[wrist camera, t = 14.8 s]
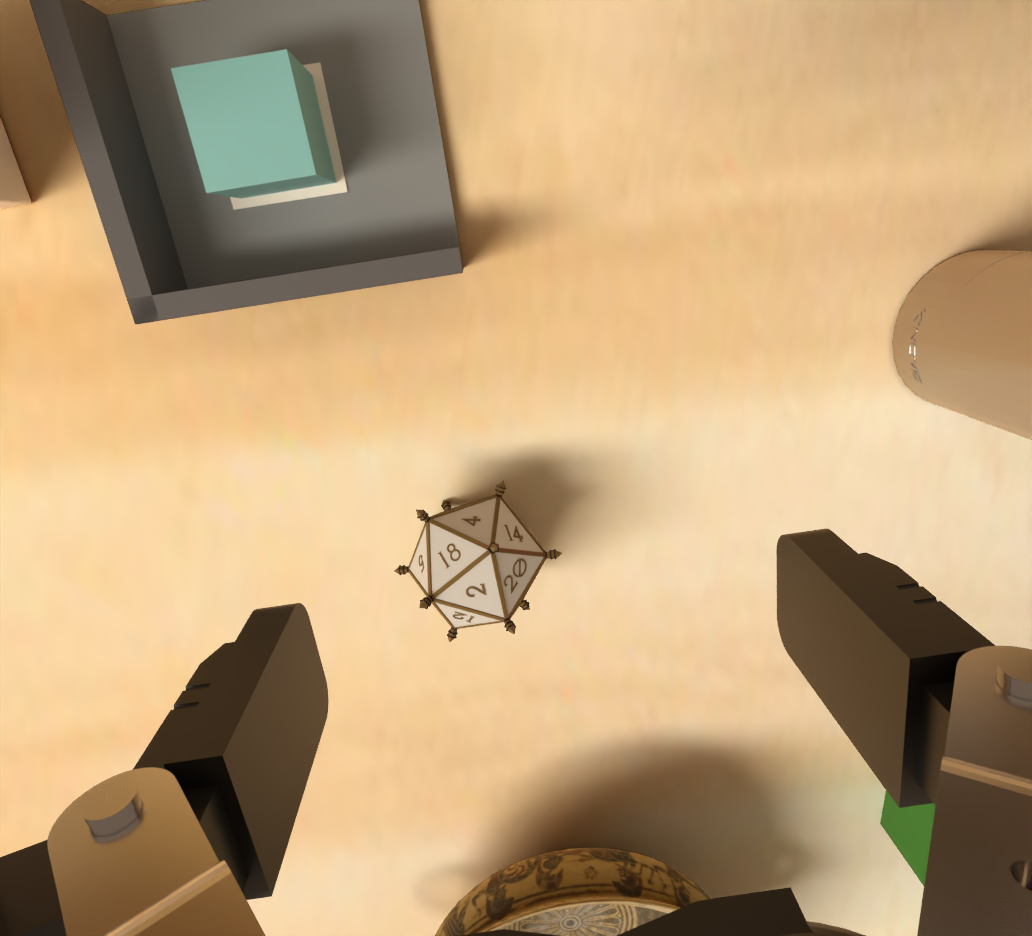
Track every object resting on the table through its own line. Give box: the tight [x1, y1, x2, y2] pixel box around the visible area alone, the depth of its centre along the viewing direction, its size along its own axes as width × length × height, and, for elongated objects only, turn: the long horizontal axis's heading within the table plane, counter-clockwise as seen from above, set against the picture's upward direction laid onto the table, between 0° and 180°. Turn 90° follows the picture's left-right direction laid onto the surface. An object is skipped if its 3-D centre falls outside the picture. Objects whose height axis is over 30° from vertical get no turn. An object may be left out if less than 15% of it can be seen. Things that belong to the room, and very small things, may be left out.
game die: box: [395, 481, 562, 642], centre depth 40 cm, size 9×8×10 cm
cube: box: [171, 49, 337, 199], centre depth 32 cm, size 5×5×5 cm
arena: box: [29, 0, 463, 324], centre depth 33 cm, size 16×14×5 cm
